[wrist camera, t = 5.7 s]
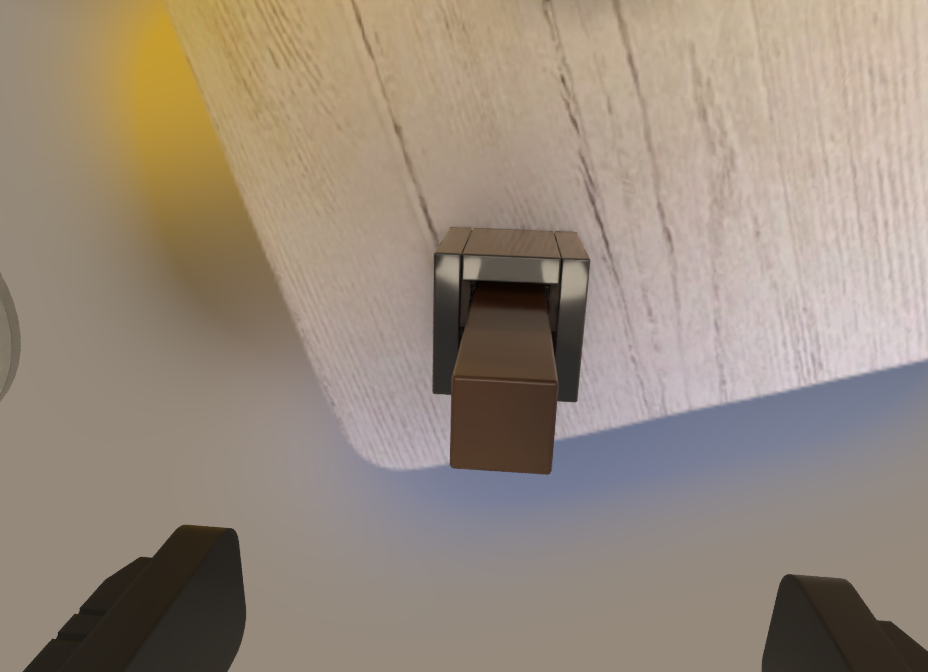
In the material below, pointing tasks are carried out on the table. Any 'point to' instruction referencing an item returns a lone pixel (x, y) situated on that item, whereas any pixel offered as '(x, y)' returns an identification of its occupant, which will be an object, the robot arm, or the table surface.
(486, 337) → the stick
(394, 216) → the table surface
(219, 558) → the robot arm
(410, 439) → the table surface
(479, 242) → the holder
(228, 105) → the table surface
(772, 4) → the table surface
